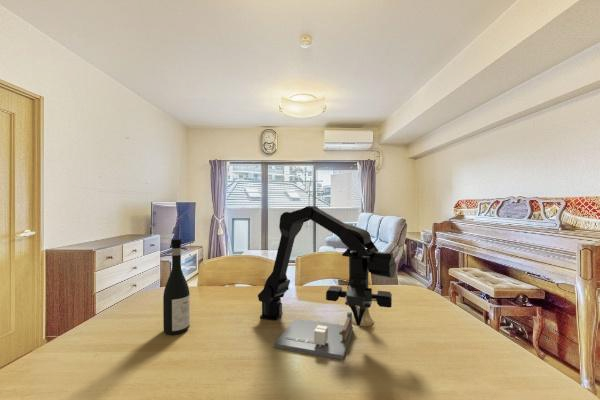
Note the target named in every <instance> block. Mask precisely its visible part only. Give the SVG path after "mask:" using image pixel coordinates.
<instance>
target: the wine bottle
mask: <svg viewBox="0 0 600 400" xmlns="http://www.w3.org/2000/svg"><path fill="white" fill-rule="evenodd" d="M170 242H171V243H170V244H171V270H170V273H169V275H168V278H167V281H166V283H165V287H164V289H163V290H164V291H163V297H162V299H163V301H162V302H163V303H162V305H163V310H162V311H163V318H162V319H163V332H165V333H166V334H168V335H178V334H182V333H184V332H186V331H188V329H189V327H190V326H191V312H190V311H191V307H190V306H191V303H190V302H191V301H190V299H191V297H190V295H191V293H190V288H189V285H188V284H189V283H188V282H187V280H186V277H185V276H184V275H185V274H184V273H183V270H182V261H181V260H182V259H181V255H182V249H181V248H182V239H181V238H172V239H171V241H170Z"/></svg>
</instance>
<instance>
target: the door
mask: <svg viewBox="0 0 600 400" xmlns="http://www.w3.org/2000/svg"><path fill="white" fill-rule="evenodd" d="M343 325H344V327H343V329H342V331H340V333H339V334H340V335H342V342H346V340H347V337H348V334H349V331H350V328H351V317H347V316H346V319H345V321H344V324H343Z"/></svg>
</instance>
